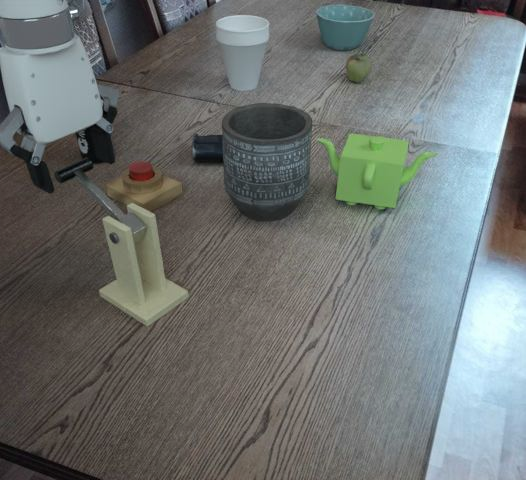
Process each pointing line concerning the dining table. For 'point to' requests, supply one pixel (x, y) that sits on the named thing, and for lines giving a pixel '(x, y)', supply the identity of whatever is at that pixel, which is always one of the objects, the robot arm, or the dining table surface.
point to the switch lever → (100, 195)
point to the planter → (266, 158)
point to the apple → (357, 67)
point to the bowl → (343, 25)
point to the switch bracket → (139, 271)
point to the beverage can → (88, 142)
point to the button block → (144, 190)
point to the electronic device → (207, 148)
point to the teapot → (372, 169)
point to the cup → (243, 48)
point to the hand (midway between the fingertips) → (77, 174)
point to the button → (141, 171)
